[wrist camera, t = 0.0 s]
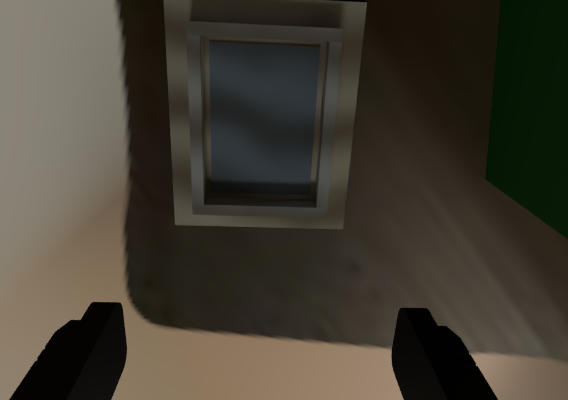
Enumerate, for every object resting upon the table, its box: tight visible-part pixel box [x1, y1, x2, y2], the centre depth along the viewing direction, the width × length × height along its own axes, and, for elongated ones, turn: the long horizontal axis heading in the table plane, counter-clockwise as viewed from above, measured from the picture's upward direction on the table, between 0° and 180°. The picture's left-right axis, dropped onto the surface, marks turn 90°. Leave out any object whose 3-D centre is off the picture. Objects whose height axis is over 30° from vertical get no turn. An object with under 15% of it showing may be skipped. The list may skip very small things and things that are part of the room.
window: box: [164, 0, 367, 229], centre depth 38 cm, size 20×16×3 cm
